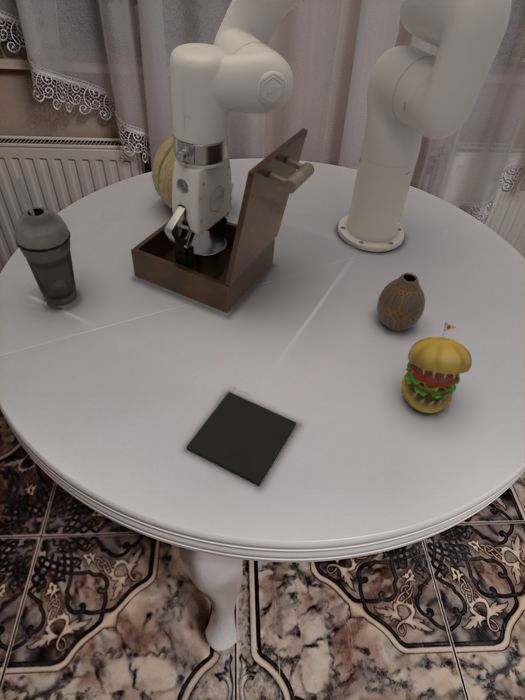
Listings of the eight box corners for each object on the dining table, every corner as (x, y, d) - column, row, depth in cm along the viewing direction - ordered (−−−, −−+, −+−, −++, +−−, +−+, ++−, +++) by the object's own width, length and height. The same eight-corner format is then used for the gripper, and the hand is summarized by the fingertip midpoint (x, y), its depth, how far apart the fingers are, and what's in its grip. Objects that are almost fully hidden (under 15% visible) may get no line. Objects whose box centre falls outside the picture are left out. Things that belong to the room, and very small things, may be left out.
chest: (135, 279, 84) (130, 249, 80) (188, 235, 94) (186, 207, 90) (226, 316, 79) (227, 287, 75) (272, 265, 89) (275, 237, 85)
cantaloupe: (144, 222, 96) (134, 144, 85) (170, 186, 106) (165, 112, 96) (219, 235, 94) (219, 157, 84) (239, 197, 105) (241, 123, 94)
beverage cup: (73, 319, 76) (38, 198, 62) (28, 311, 77) (-17, 189, 63) (94, 290, 81) (66, 171, 67) (51, 282, 82) (15, 163, 68)
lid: (248, 171, 60) (283, 188, 60) (303, 127, 70) (333, 141, 70) (224, 283, 74) (252, 298, 74) (273, 233, 84) (298, 247, 84)
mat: (228, 394, 68) (228, 391, 68) (296, 425, 65) (296, 422, 65) (186, 449, 62) (186, 446, 61) (259, 486, 59) (259, 483, 58)
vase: (419, 314, 82) (436, 269, 76) (414, 342, 77) (431, 297, 71) (377, 303, 83) (389, 258, 77) (369, 330, 78) (382, 285, 72)
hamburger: (399, 417, 67) (425, 354, 58) (389, 376, 72) (412, 312, 63) (457, 419, 67) (491, 356, 59) (443, 378, 72) (473, 315, 64)
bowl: (199, 251, 89) (198, 226, 85) (234, 264, 87) (234, 238, 83) (176, 272, 85) (174, 246, 81) (212, 286, 83) (211, 260, 79)
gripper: (188, 178, 64) (191, 286, 76) (254, 134, 75) (247, 234, 87) (140, 162, 66) (150, 269, 78) (211, 121, 78) (210, 220, 90)
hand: (201, 250), depth 83 cm, fingers open, 9 cm apart
